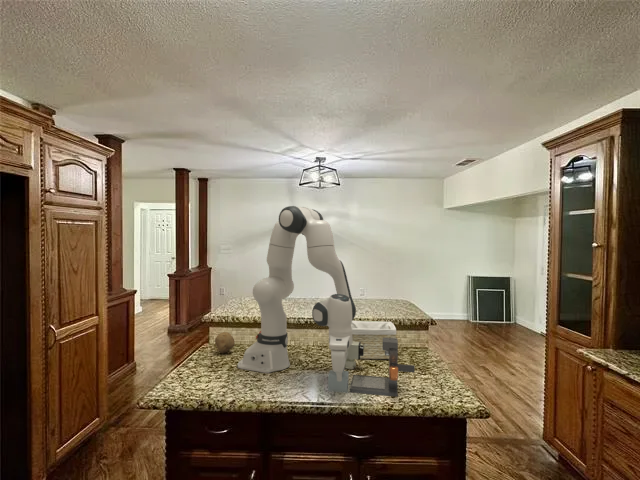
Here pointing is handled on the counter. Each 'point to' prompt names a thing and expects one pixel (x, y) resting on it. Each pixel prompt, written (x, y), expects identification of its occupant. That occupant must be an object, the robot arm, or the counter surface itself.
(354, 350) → the pneumatic valve
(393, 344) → the press
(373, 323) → the storage basket
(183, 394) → the counter surface
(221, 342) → the natural sponge
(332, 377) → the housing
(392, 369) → the lever
